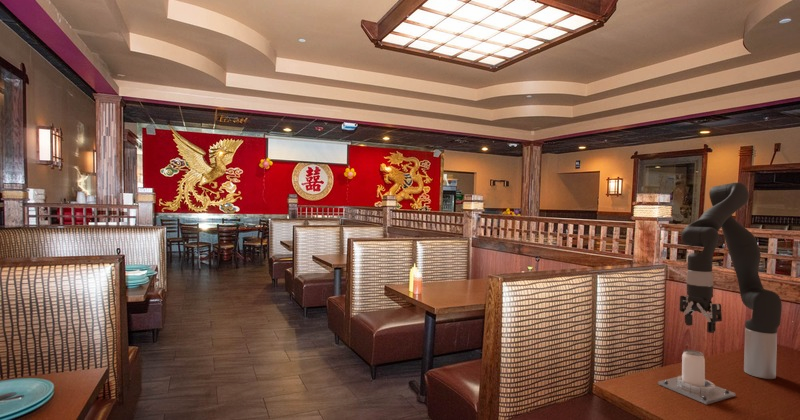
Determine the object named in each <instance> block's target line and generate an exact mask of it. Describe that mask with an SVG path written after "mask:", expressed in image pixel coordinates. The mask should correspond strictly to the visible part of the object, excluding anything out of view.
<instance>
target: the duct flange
mask: <svg viewBox="0 0 800 420" xmlns="http://www.w3.org/2000/svg"><path fill="white" fill-rule="evenodd" d="M657 384H658V386H661V387H663V388H666V389H669V390H670V391H672V392H675V393H678V394H680V395H682V396H684V397H687V398H690V399H692V400H694V401H697V402H699V403H702V404H704V405H706V406H707V405H710V404H714V403H716V402H720V401H724V400H726V399H730V398H733V397H736V392H733V391H730V390H729V389H725V388H722V387H720V386H717V385H715V383H713V382H712V381H710V380H708V379H706V378H705V387H699V386H694V385H691V384H688V383H685V382H684V381H682V374H681V375H678V376H676V377H675V376H674V377H671V378H667V379H663V380H658V381H657Z"/></svg>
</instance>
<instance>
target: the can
mask: <svg viewBox="0 0 800 420" xmlns="http://www.w3.org/2000/svg"><path fill="white" fill-rule="evenodd" d="M681 360H682V361H681V375H682V381H684V382H685V383H688V384H691V385H694V386H699V387H705V379H706V378H705V377H706V359H705V356H704V353H703V352H701V351H697V350H693V349H684V350H683V353H682V355H681Z"/></svg>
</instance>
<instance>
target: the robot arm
mask: <svg viewBox="0 0 800 420" xmlns="http://www.w3.org/2000/svg"><path fill="white" fill-rule="evenodd" d="M708 194H709V200H710V203H711V207H709V208H708V209H706V210H705V211H704V212H703V213H702V214H701V215H700V217H699V218H698V219H696V220H695V221H692V222H691V223H689V224H688V225H686V226H685V227H683V230H682V232H681V234H680V238H681V239H680V240H681V241H682V243H683V244H684V245H686V246H689V247H697V248H698V247H699V248H701V247H702V248H703V249H702V251H701V252H692V253H689V254H688V255H687V273H686V295H680V296H679V312H680V313H683V314H684V323H685V325H686V326H689V327H690V326H693V313H695V312H697V313H700V314H702V316H703V317H705V319H706V320H707V323H706V324H707V325H706V332H707V333H709V334H712V333H713V334H714V333H715V332H716V323H718V322H722V321H723V315H722V314H723V313H722V305H721V303H713V302H712V299H713V297H714V276H713V258H714V254H715V251H716V248H717V245H718V243H719V237H720V235H719V231H720V230H722V234H723V236H724V237H723V238H724V241H725V244H726V247H727V251H728V254H729V257H730V259H731V261H732V266H733V269H734V272H735V275H736V278H737V284H738V288H739V289H738V290H739V294H740V298H741V302H742V303H743V304H744V306H745V307H746V308H747V309H750V310H751V311H752V313H751V318H750V319H746V320H745V321H744V322H745V323H744V353H743V354H744V356H743V359H744V360H743V371H744V373H745V374H747V375H750V376H753V377H756V378H760V379H764V380H765V379H767V380H773V379H774V380H775V379H776V378H777V352H778V351H777V348H778V346H777V345H778V342H777V341H778V339H777V338H778V329H779V327H780V325H781V319H782V318H781V317H782V310H783V309H782V308H783V307H782V306H783V304H782V299H781V297H780V296H779V295H778V294H777V293H776V292H774V291H773V290H769V289H765V287H764V286H763V283H762V280H761V279H760V274H759V267H760V263H761V250H760V246H759V244H758V241H757V238H756V236H755V235H754V234H753V233H752V232H751V231H750V230H748V229H747V228H746V227H744V226H743V225H742V224H741V223H739V222H738V221H737V220H736V218H735V217H734V216H733V215H734V213H736V212H737V211H739V210H740V209H741V208H743V207H744V206H745V205H746V203H747V202H748V200H749V196H750V194H749V190H748V188H747V186H746V185H745V184H744V183H742V182H732V183H726V184H720V185H716V186H712V187H711V188H710V189H709V192H708Z"/></svg>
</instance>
